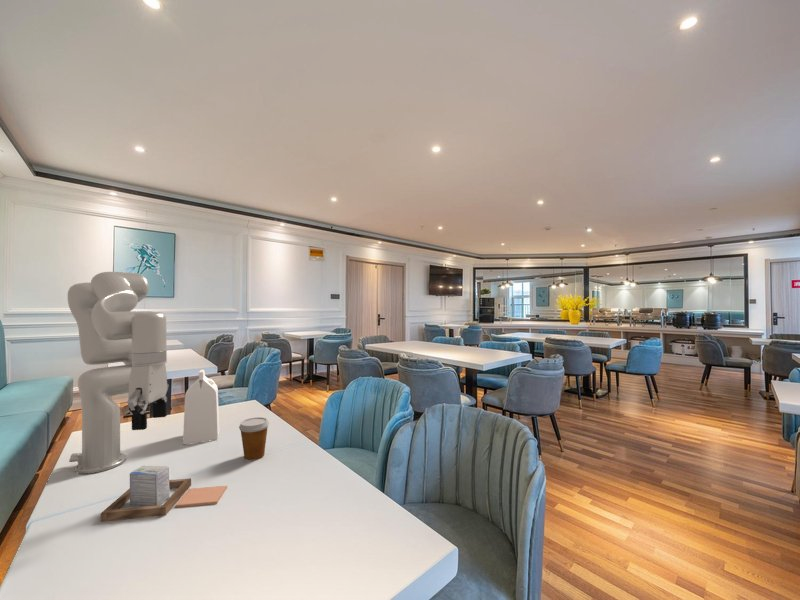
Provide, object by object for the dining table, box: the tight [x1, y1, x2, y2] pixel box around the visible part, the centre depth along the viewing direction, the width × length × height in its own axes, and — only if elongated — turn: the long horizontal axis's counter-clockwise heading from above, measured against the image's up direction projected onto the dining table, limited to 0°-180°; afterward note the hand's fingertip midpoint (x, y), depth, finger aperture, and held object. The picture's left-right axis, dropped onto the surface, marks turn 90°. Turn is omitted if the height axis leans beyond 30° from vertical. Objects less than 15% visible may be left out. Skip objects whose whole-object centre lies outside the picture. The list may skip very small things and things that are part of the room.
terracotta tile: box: [175, 485, 228, 508], centre depth 94 cm, size 10×8×1 cm
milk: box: [182, 369, 220, 445], centre depth 137 cm, size 12×12×26 cm
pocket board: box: [100, 477, 192, 522], centre depth 92 cm, size 14×14×2 cm
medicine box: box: [129, 465, 171, 507], centre depth 92 cm, size 8×4×9 cm, turn 84°
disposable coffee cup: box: [238, 416, 270, 461], centre depth 119 cm, size 10×10×12 cm
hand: (150, 423), depth 92 cm, fingers open, 9 cm apart
